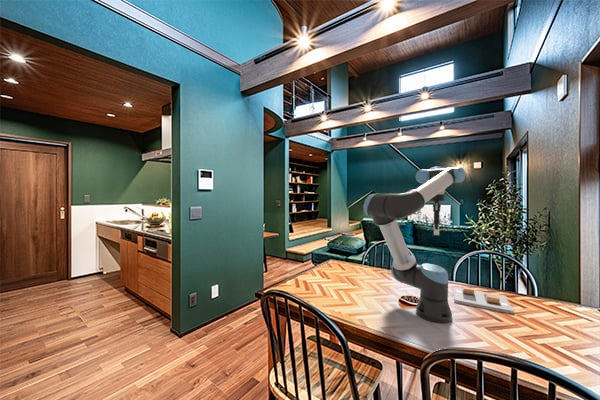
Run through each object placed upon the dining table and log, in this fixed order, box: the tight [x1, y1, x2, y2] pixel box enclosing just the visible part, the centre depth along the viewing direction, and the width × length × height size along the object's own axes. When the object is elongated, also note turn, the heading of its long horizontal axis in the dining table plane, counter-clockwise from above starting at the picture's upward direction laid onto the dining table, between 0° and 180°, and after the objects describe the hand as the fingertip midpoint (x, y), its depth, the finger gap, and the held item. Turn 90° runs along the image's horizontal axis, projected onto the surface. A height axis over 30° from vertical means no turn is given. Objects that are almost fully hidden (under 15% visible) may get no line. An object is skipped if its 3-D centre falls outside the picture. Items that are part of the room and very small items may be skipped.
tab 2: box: [486, 295, 500, 303], centre depth 125 cm, size 3×5×2 cm, turn 59°
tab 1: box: [462, 286, 475, 295], centre depth 136 cm, size 3×5×2 cm, turn 58°
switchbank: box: [453, 286, 515, 315], centre depth 131 cm, size 20×24×2 cm
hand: (436, 234), depth 139 cm, fingers closed
